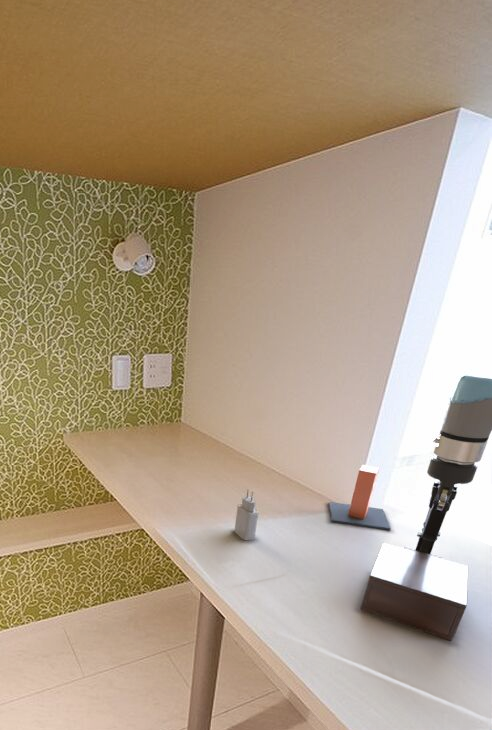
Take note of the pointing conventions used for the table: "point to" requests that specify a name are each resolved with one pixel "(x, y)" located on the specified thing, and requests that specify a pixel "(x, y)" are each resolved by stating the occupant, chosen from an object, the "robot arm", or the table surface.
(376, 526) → the felt mat
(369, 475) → the reddish brown rectangular block
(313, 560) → the table surface
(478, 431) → the robot arm
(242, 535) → the power adapter
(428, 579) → the cabinet
